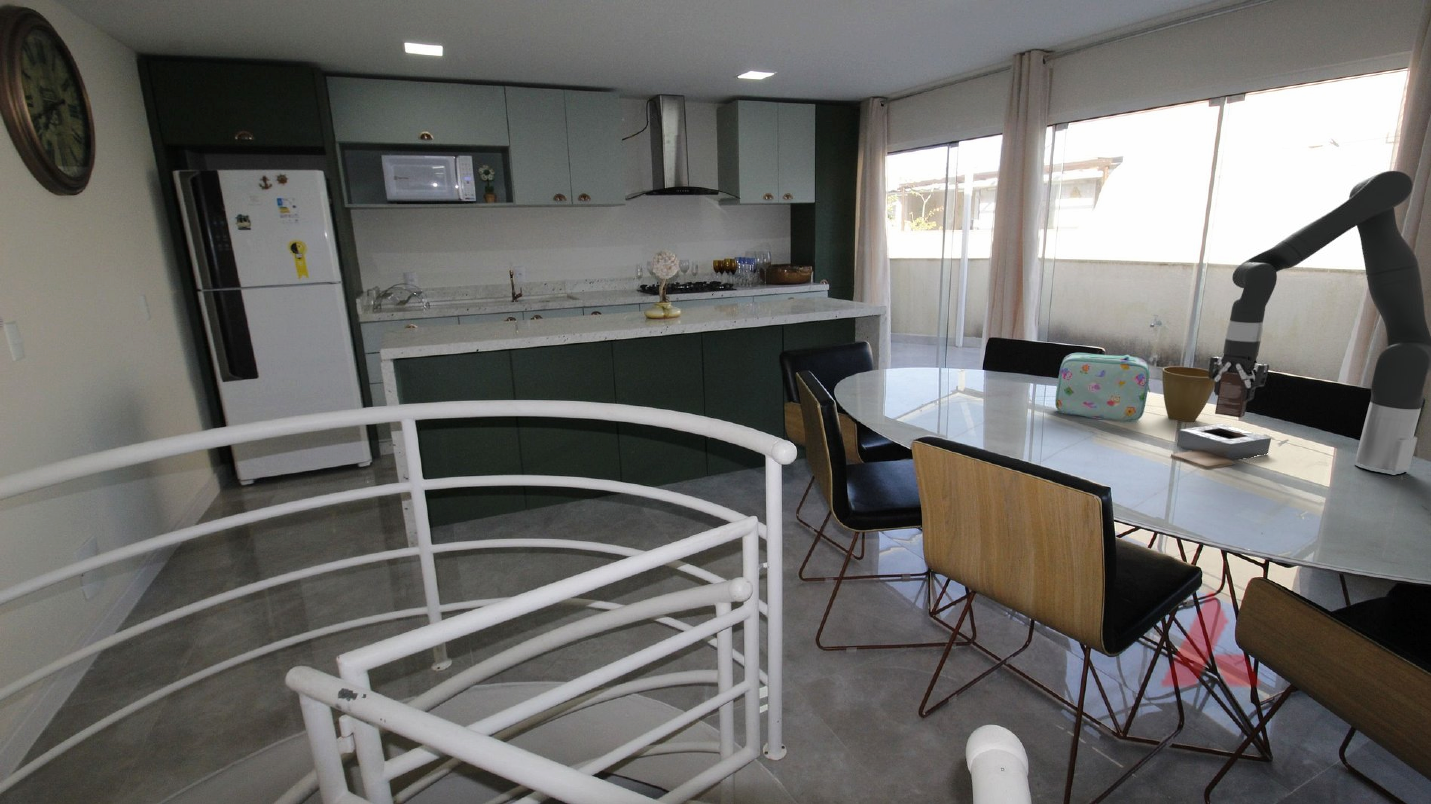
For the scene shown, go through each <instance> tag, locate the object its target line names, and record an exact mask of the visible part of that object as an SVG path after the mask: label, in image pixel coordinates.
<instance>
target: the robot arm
mask: <svg viewBox="0 0 1431 804" xmlns="http://www.w3.org/2000/svg"><path fill="white" fill-rule="evenodd" d="M1413 186H1414V184H1413V180H1412V178H1411V176H1409V175H1408V174H1406V173H1404V172H1403V171H1399V170H1387V171H1382V172H1379V173H1376V174H1373V175H1371V176H1369V177H1367V178H1365V179H1362V180H1360V181H1359V182H1357V183H1356V184H1355V185H1354V186H1353V188H1352V189H1351V190H1350V193H1349V195H1348V199H1347V200H1346V201H1344V202H1343V203H1341V204H1340V205H1339V206H1336V208H1334V209H1332V210H1330V211H1329V212H1327V213H1326V214H1324V215H1323V216H1321V217H1319V218H1317V219H1315V220H1313V221H1312V222H1310V223H1308V224H1306V225H1304V226H1302V227H1301V228H1299V229H1298V230H1297V231H1295V232H1293V233H1291V234H1290V235H1289V236H1287V237H1286V238H1284V239H1282V240H1281V241H1280V242H1278V243H1277V244H1275V245H1274V246H1272V247H1271V248H1269V249H1267V250H1265V251H1263V252H1262V251H1261V252H1260V253H1258V254H1256V255H1254V256H1253V257H1251V258H1248V259H1247V260H1245V261H1243V262H1242V263H1241V264H1239V265H1238V266H1237V267H1236V268H1235V270H1234V271H1233V274H1232V282H1233V284H1234V285H1235V286H1236V287H1238V288H1241V289H1243V290H1242V293H1241V296H1240V298H1238V299H1236V300H1234V302H1233V303H1232V304H1233V305H1232V307H1231V311H1230V318H1229V322H1228V326H1227V328H1226V329H1227V330H1226V333H1225V339H1224V344H1223V356H1222V357H1220V356H1212V357H1210V358H1209V367H1208V370H1209V374H1208V377H1209V378H1212V379H1214V380H1215V387H1214V389H1213V393H1214V395H1215V396H1218V393H1219V387H1220V380H1221V374H1222V372H1223V371H1224V372H1233V373H1239V374H1240V376H1241V378H1242V380H1243V381H1244V382H1245V385H1246V387H1247V388H1245V391H1244V397H1243V401H1247V402H1251V401H1252V400H1253V399H1254V397H1255V392H1256V388H1259V387H1265V384H1266V381H1267V377H1268V373H1269V369H1270V365H1269V364H1267V363H1266V364H1261V363H1258V362H1257V358H1258V356H1259V351H1260V346H1261V342H1262V336H1263V329H1264V328H1263V327H1264V326H1263V324H1264V318H1265V315H1266V313H1265V312H1266V307H1267V304H1268V303H1269V301H1270V299H1271V296H1272V294H1273V292H1274V290H1275V287H1276V285H1277V280H1278V275H1277V273H1278V272H1280V271H1282V270H1288V269H1292V268H1294V267H1296V266H1297V265H1299V264H1301V263H1302V262H1304V261H1305V260H1306V259H1308V258H1310V257H1312V256H1313V255H1315V254H1316V253H1317V252H1319V251H1320V250H1321V249H1323V248H1324V247H1326V246H1327V245H1329V244H1330V243H1332V242H1333V241H1335V240H1337V239H1338V238H1339V237H1341V236H1342V235H1344V234H1345V233H1347V232H1348V231H1350V230H1351V229H1353V228H1355V227H1356V228H1357V231H1358V234H1359V238H1360V245H1361V249H1362V250H1361V251H1362V256H1363V262H1364V267H1365V268H1364V269H1365V276H1366V281H1367V286H1368V291H1369V294H1370V297H1371V299H1372V301H1373V304H1374V306H1375V308H1376V309H1377V311H1378V313H1379V315H1380V317H1381V319H1382V321H1383V324H1384V326H1385V332H1386V341H1387V342H1386V343H1387V344H1386V346H1387V347H1386V348H1385V349H1383V350H1382V351H1381V352H1380V353H1379V355H1378V357H1377V361H1376V364H1375V367H1374V371H1373V372H1374V373H1373V377H1372V382H1371V386H1370V393H1371V395H1370V396H1371V397H1370V402H1369V405H1368V408H1367V413H1366V417H1365V419H1364V420H1365V421H1364V424H1363V428H1362V432H1361V436H1360V439H1359V445H1358V447H1357V448H1358V449H1357V452H1356V456H1355V460H1354V462H1355V461H1357V462H1358V463H1360V464H1363V465H1365V466H1369V467H1375V468H1379V469H1385V470H1392V471H1399V470H1409V471H1410V467H1411V463H1412V459H1413V456H1414V453H1415V449H1416V446H1417V442H1418V437H1416V436H1415V432H1416V429H1417V425H1418V420H1419V417H1420V415H1421V410H1422V408H1423V407H1422V406H1423V403H1424V399H1425V398H1424V394H1423V392H1424V388H1425V383H1426V379H1427V376H1428V373H1430V372H1431V333H1430V330H1429V328H1428V327H1429V326H1428V324H1427V321H1426V314H1425V301H1424V294H1423V285H1422V278H1421V277H1422V276H1421V273H1420V266H1419V262H1418V259H1417V257H1416V254H1415V252H1414V251H1413V249H1412V248H1411V247H1410V245H1409V244H1408V243H1407V241H1406V240H1405V239H1404V237H1403V236H1402V234H1401V232H1400V231H1399V229H1398V224H1397V220H1396V219H1397V218H1396V214H1395V213H1396V212H1395V207H1397V206H1399V205H1401V204H1402V203H1403V202H1405V201H1406V200H1407V199H1408V198H1409V196H1411V193H1412V191H1413ZM1221 364H1222V366H1223V367H1222V368H1221V369H1220V367H1221ZM1254 369H1255V372H1256V373H1254ZM1246 374H1250V376H1247V375H1246Z"/></svg>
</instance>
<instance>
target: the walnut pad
mask: <svg viewBox="0 0 1431 804" xmlns="http://www.w3.org/2000/svg"><path fill="white" fill-rule="evenodd" d="M1170 458H1172V459H1176V460H1179V461H1181V462H1184V463H1187V464H1190V465H1194V466H1197V467H1199V468H1202V469H1204V470H1211V469H1214V468H1215V467H1216V468H1221V467H1226V465H1228V466H1232V465H1231V464H1234V465H1235V461H1231V460H1228V459H1225V458H1221V457H1218V456H1215V455H1212V454H1209V453H1205V452H1202V451H1199V450H1194V451H1190V450H1187V451H1182V452H1176V453H1170ZM1216 468H1215V469H1216Z"/></svg>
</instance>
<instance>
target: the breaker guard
mask: <svg viewBox="0 0 1431 804" xmlns="http://www.w3.org/2000/svg"><path fill="white" fill-rule="evenodd" d="M1271 440H1272V437H1271V436H1267V435H1262V434H1259V433H1256V432H1255V433H1254V432H1252V431H1248V430H1243V429H1240V428H1237V427H1233V426H1229V425H1226V424H1222V423H1216V424H1208V425H1202V426H1196V427H1188V428H1182V429H1179V430H1178V436H1177V443H1176V447H1177V448H1181V449H1184V450H1187V451H1194V450H1199V451H1202V452H1205V453H1209V454H1212V455H1215V456H1218V457H1221V458H1225V459H1228V460H1231V461H1234V462H1235V461H1240V460H1239V459H1241V460H1244V459H1243V458H1247V459H1252V458H1251V457H1253V458H1255V457H1254V456H1257V455H1264V454H1267V453H1268V454H1269V449H1270V446H1271Z"/></svg>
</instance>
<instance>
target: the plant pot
mask: <svg viewBox="0 0 1431 804" xmlns="http://www.w3.org/2000/svg"><path fill="white" fill-rule="evenodd" d="M1208 374H1209V369H1205V368H1199V367H1191V366H1177V365H1176V366H1174V365H1172V366H1165V367H1163V368H1162V374H1161V375H1162V378H1161V379H1162V393H1163V401H1164V407H1165V412H1166V414H1167V417H1168V419H1170V420H1172V421H1177V422H1181V423H1192V422H1195V421H1196V420H1197V419H1198V418H1199V416H1200V414H1201V413H1202V412H1203V409H1205V407H1206V404H1208V401H1209V399H1210V397H1211V395H1212V394H1213V392H1214V387H1215V380H1214V379H1212V378H1209V377H1208Z"/></svg>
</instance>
